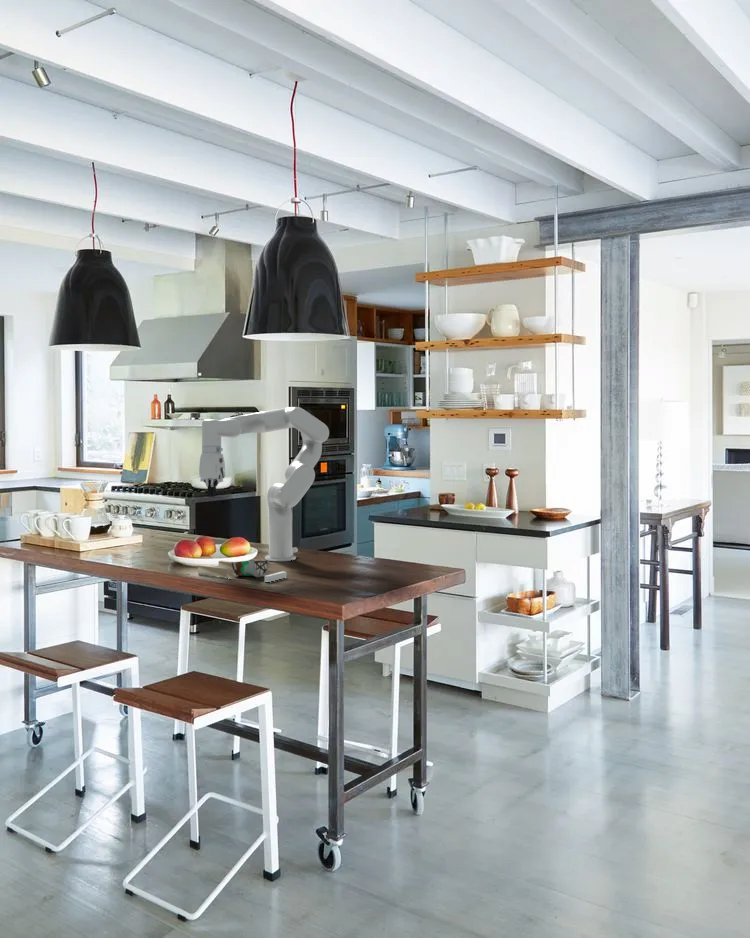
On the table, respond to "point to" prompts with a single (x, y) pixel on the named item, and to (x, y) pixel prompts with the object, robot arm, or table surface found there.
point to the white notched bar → (275, 576)
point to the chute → (218, 570)
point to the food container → (250, 568)
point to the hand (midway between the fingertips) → (211, 496)
